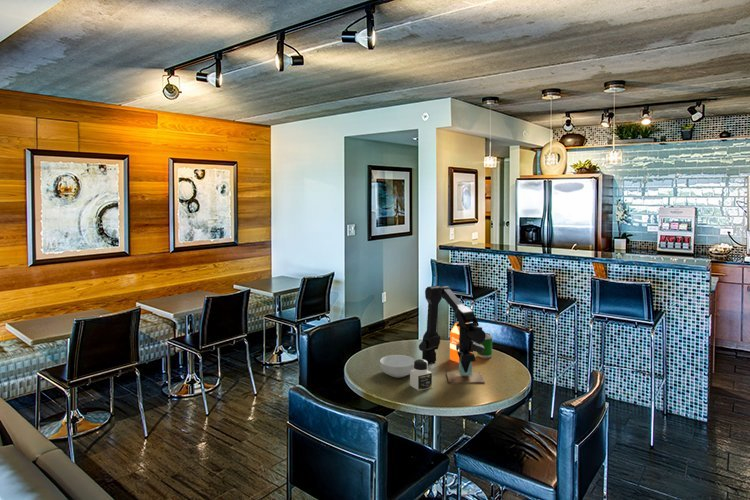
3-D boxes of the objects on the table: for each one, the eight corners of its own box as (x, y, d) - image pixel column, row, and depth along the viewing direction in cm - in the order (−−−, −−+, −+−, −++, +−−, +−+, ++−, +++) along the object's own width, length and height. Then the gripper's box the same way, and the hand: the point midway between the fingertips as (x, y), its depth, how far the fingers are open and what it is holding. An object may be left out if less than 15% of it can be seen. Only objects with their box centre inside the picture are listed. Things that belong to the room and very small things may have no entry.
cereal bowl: (374, 378, 231) (374, 363, 230) (386, 367, 247) (386, 353, 246) (410, 383, 225) (410, 368, 225) (419, 370, 241) (419, 356, 240)
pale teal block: (460, 375, 227) (460, 361, 227) (458, 371, 233) (458, 357, 232) (471, 375, 227) (471, 361, 227) (469, 371, 232) (470, 357, 232)
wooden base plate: (449, 383, 224) (449, 368, 224) (446, 373, 236) (446, 359, 236) (484, 383, 224) (485, 368, 223) (480, 374, 236) (480, 359, 235)
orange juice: (472, 360, 256) (473, 322, 254) (460, 363, 251) (460, 324, 249) (461, 356, 263) (462, 319, 260) (449, 359, 258) (449, 321, 256)
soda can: (492, 359, 257) (492, 336, 256) (477, 358, 259) (477, 335, 257) (491, 354, 264) (492, 332, 263) (477, 353, 266) (477, 332, 265)
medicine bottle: (418, 391, 216) (418, 364, 215) (409, 385, 222) (409, 359, 221) (432, 388, 219) (432, 361, 218) (423, 382, 226) (423, 357, 224)
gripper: (487, 343, 219) (486, 377, 220) (479, 331, 237) (479, 363, 239) (461, 343, 219) (461, 377, 221) (456, 331, 237) (455, 363, 239)
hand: (465, 370), depth 230 cm, fingers closed on pale teal block, 5 cm apart
